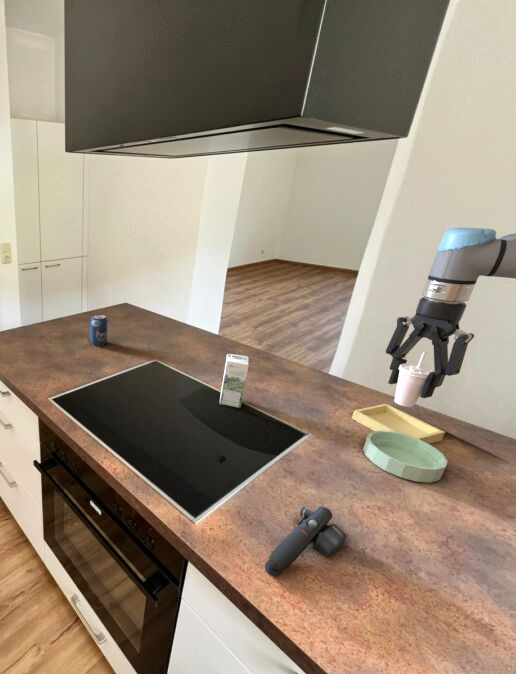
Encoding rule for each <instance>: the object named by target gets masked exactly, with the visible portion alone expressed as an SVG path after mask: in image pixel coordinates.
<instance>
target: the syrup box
mask: <svg viewBox="0 0 516 674" xmlns="http://www.w3.org/2000/svg"><path fill="white" fill-rule="evenodd" d="M249 362H250V361H249V356H248V355H241V354H232V353H227V354H226V358H225V364H224V365H225V366H224V372H223V377H222V385H221V389H220V397H219V405H221V406H227V407H232V408H237V409H241V407H242V402H243V398H244V397H243V396H244V392H245V387H246V383H247V376H248V371H249V366H250V364H249Z"/></svg>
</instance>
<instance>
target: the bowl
mask: <svg viewBox="0 0 516 674" xmlns="http://www.w3.org/2000/svg"><path fill="white" fill-rule="evenodd" d="M362 450H363V453H364V455H365V456H366V458H367V459H368V460H369V461H370V462H371V463H372V464H373V465H375V466H377V467H378V468H380V469H382V470H383V471H385V472H386V473H387V472H388V473H390V474H392V475H394V476H397V477H399V478H402V479H405V480H409V481H412V482H417V483H435V482H438V481H440V480H441V479H442V476H443V474H444V472H445V470H446V467H447V465H448V462H449V461H448V459H447V458H446V456H445V454H443V453H442V452H441V451H440V450H439V449H437V448H436V447H434V446H433V445H432V444H427V443H426V442H424V441H422V440H420V439H417V438H414V437H411V436H409V435H406V434H402V433H397V432H393V431H381V430H378V431H371V432H369V434H368V435H367V436H366V439H365V442H364V445H363V448H362Z"/></svg>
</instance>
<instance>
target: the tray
mask: <svg viewBox="0 0 516 674" xmlns="http://www.w3.org/2000/svg"><path fill="white" fill-rule="evenodd" d="M351 419H352V420H354V421H355V420H356V421H355V422H357V423H359V424H361V425H363V426H365V427H366V428H368V429H370V430H372V432H374V431H378V430H381V431H393V432H397V433H402V434H406V435H409V436H411V437H414V438H417V439H420V440H422V441H424V442H426V443H427V444H429V445H432V444H434V443H438V442H442V440H443V438H444V436H445V433H446V431H444V430H442V429H441V428H438V427H436V426H434V425H432V424H429V423H427V422H425V421H423V420H421V419H419V418H417V417H415V416H413V415H411V414H409V413H407V412H404V411H402V410H400V409H398V408H397V407H394V406H392V405H390V404H388V403H383V404H378V405H373V406H368V407H363V408H359V409H354V410H353V414H352V416H351Z"/></svg>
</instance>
